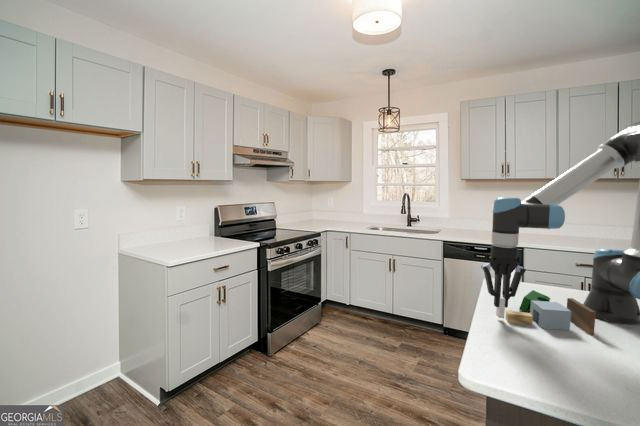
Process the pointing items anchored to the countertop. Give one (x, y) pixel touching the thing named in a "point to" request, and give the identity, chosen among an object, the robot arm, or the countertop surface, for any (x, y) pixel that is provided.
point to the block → (550, 315)
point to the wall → (581, 316)
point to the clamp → (534, 297)
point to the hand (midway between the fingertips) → (500, 316)
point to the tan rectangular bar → (519, 317)
